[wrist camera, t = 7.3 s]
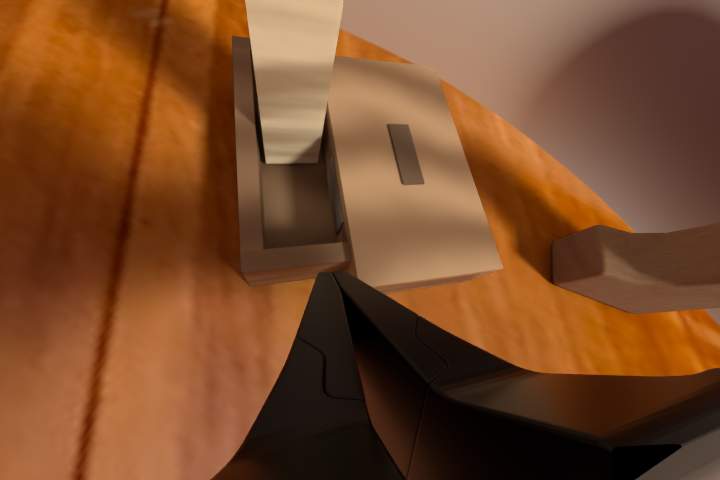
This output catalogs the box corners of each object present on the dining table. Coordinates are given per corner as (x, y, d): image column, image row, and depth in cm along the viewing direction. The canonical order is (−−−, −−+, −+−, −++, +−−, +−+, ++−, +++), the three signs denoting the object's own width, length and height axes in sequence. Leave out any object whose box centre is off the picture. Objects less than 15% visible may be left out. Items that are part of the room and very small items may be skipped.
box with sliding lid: (463, 282, 22) (505, 267, 18) (251, 313, 18) (239, 304, 13) (409, 95, 28) (430, 50, 24) (240, 82, 24) (229, 25, 19)
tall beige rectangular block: (317, 163, 22) (411, -419, 5) (266, 163, 21) (171, -579, 4) (310, 114, 24) (365, -461, 7) (262, 112, 23) (181, -583, 6)
